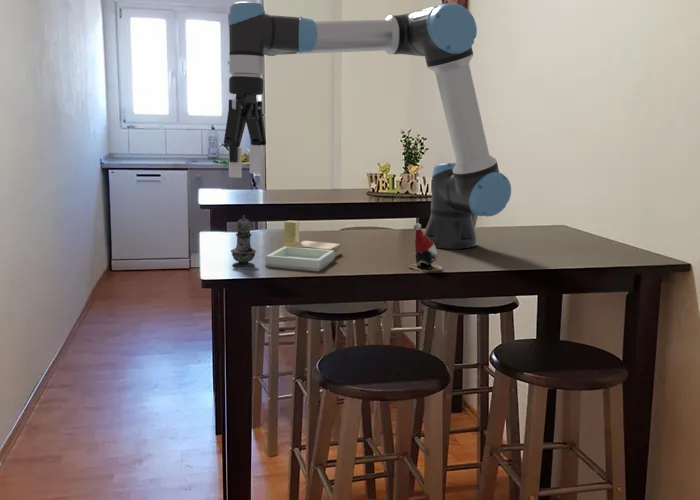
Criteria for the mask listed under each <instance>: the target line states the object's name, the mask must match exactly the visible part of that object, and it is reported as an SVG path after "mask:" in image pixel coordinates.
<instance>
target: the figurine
mask: <svg viewBox="0 0 700 500" xmlns="http://www.w3.org/2000/svg"><path fill="white" fill-rule="evenodd" d="M413 230H415V231H416V232H415V240H414V241H415V243H414V245H415V246H414V247H415V250H414V251H415V255H414V256H415V262H416V263H413V264H412V263H411V264H408V266H407V268H408V267H409V268H410V267H412V268H415V267H417V268H419V269H421V270H423V271H421V270H419V271H418V272H422V273H423V272H424V270H425V273H426V272H427V273H428V272H431V273H432V272H437V271H441V270H443V266H441V265H438V264H432V263H433V262H436V261H437V259H438V255H439V254H438V251H437V247H435V245H434V242H433V241H430V240H429V239H428V238H427V237H426V236H425V235H424V233H423V231H422V224H420V223H419V222H418V223H415V224H414V225H413ZM423 265H424V266H426V267H424V266H423ZM433 266H434V267H433ZM409 268H408V269H409Z"/></svg>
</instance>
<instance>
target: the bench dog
mask: <svg viewBox="0 0 700 500" xmlns="http://www.w3.org/2000/svg"><path fill="white" fill-rule="evenodd" d="M283 223H284V226H283V227H284V229H283V230H284V231H283V236H284V237H283V247H284V246H286V247H293V245H296V244H298V243H300V220H287V221H284V222H283Z"/></svg>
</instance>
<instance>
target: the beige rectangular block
mask: <svg viewBox="0 0 700 500" xmlns="http://www.w3.org/2000/svg"><path fill="white" fill-rule="evenodd" d="M341 244H342V243H335V242H334V243H332V242H321V241H313V240H302V241H301V242H300V241H299V243H298V244H296V245H293V247H298V248H310V249H322V250H334V258H337V257H338V256H339V255H340V254H341V246H342V245H341Z"/></svg>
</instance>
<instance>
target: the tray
mask: <svg viewBox="0 0 700 500" xmlns="http://www.w3.org/2000/svg"><path fill="white" fill-rule="evenodd" d="M334 261H335V257H334V250H322V249H310V248H298V247H286V246H284V245H283V246H281V248H278V249H277V250H274V251H273V252H271V253H269V254H267V255H265V267H266V268H267V267H268V268H277V269H279V268H280V269H290V270H299V271H300V270H301V271H309V272H310V271H312V272H320V271H321V270H323V269H324V268H326V267H327V266H328V265H330V264H332V263H333V262H334Z"/></svg>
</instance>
